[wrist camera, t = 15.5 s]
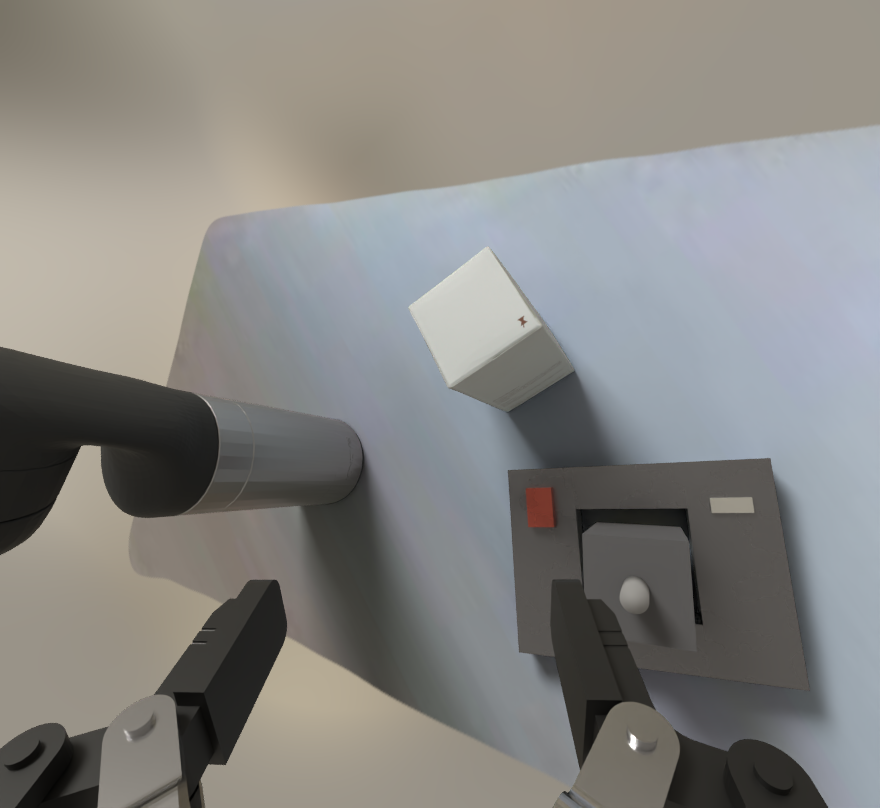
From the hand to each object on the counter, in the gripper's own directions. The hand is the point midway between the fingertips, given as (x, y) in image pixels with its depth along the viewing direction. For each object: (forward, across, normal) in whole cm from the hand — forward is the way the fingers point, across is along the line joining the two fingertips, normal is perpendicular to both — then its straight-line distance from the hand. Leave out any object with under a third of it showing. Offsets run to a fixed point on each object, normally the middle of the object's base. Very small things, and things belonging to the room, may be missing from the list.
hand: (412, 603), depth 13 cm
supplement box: (+30, -7, 0) cm, 31 cm away
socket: (+19, -14, +13) cm, 27 cm away
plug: (+19, -14, +13) cm, 27 cm away
